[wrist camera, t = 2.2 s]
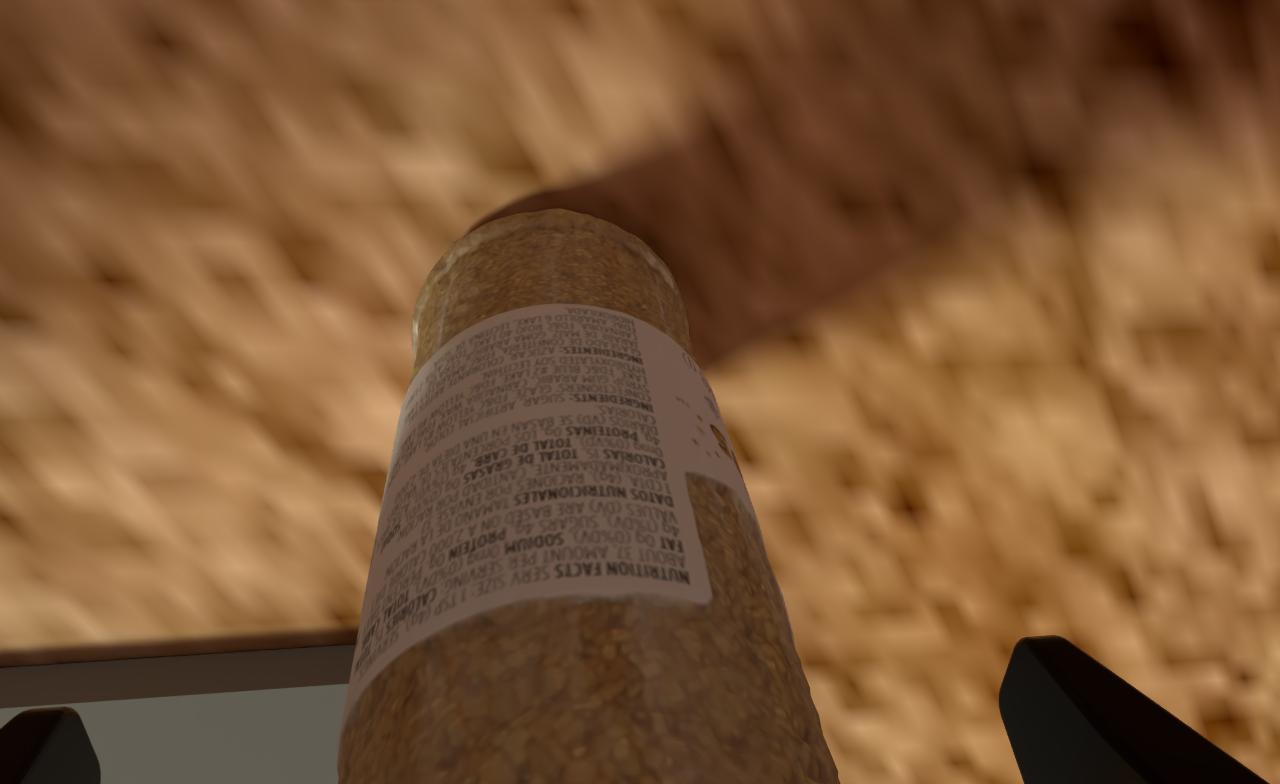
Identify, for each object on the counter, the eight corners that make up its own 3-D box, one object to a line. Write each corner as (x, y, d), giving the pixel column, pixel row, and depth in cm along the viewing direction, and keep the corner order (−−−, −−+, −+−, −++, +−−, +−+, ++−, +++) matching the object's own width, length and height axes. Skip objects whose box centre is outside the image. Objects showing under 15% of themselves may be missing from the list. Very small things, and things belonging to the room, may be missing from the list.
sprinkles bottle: (685, 429, 17) (1048, 1686, 6) (429, 452, 17) (263, 1854, 5) (685, 185, 14) (1327, 1528, 3) (386, 205, 14) (-107, 1826, 3)
